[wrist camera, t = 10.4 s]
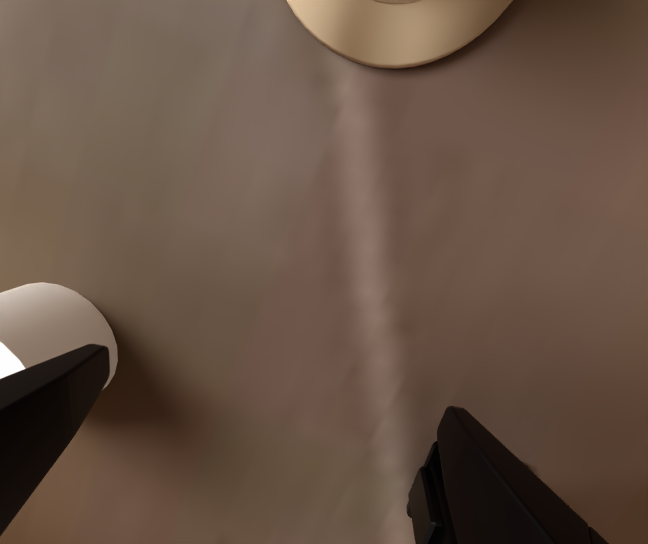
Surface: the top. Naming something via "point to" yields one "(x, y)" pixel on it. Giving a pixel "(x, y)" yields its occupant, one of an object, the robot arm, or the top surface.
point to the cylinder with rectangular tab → (48, 326)
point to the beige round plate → (396, 27)
